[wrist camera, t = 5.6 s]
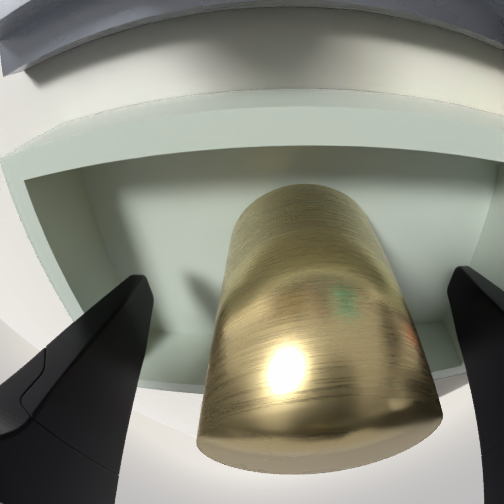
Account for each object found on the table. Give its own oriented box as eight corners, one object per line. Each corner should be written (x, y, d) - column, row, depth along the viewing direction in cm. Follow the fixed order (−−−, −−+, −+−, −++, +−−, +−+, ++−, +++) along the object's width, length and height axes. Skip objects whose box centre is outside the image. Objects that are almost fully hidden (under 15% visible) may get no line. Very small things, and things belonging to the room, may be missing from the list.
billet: (381, 184, 8) (489, 375, 3) (360, 298, 10) (395, 462, 6) (222, 186, 8) (162, 399, 3) (237, 302, 11) (218, 473, 6)
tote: (510, 118, 6) (571, 153, 4) (445, 320, 12) (466, 372, 10) (62, 123, 8) (-1, 159, 5) (136, 329, 13) (117, 383, 11)
